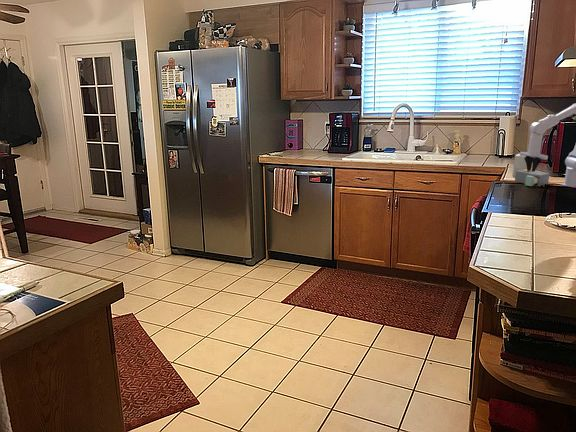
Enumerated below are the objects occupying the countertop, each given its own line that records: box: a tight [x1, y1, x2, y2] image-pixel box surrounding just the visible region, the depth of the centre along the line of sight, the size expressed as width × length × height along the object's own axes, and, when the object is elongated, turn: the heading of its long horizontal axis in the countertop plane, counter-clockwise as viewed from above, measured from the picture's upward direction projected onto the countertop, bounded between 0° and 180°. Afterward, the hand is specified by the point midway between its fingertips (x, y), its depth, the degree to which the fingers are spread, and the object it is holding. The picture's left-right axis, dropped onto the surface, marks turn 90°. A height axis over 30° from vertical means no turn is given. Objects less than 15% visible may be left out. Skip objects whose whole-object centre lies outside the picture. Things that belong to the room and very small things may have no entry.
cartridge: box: [524, 175, 539, 187], centre depth 259 cm, size 12×4×5 cm, turn 122°
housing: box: [514, 169, 550, 187], centre depth 264 cm, size 9×14×6 cm, turn 32°
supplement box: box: [512, 153, 527, 178], centre depth 279 cm, size 7×7×13 cm
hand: (531, 170), depth 255 cm, fingers closed
